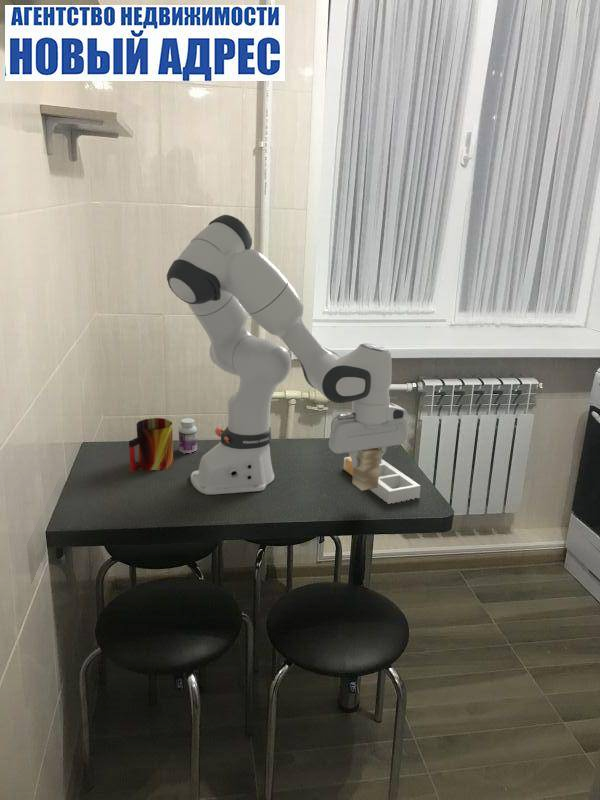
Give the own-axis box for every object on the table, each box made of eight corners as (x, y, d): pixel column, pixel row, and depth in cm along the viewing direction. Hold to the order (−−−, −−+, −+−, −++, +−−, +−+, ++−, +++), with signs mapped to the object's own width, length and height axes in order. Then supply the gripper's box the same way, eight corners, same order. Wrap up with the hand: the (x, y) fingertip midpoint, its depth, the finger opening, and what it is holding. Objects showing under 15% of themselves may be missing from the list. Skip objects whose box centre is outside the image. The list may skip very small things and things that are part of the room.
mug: (129, 476, 172) (127, 434, 169) (143, 456, 185) (141, 417, 182) (165, 477, 172) (164, 435, 169) (176, 457, 185) (175, 418, 182)
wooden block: (361, 490, 156) (364, 452, 153) (352, 483, 160) (354, 445, 157) (377, 487, 158) (380, 450, 155) (368, 480, 162) (370, 443, 159)
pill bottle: (177, 448, 192) (176, 418, 189) (194, 446, 194) (193, 416, 191) (181, 455, 187) (181, 424, 184) (199, 452, 189) (199, 422, 186)
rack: (387, 504, 161) (388, 490, 160) (342, 469, 182) (343, 456, 180) (419, 498, 165) (420, 484, 164) (372, 464, 186) (373, 452, 185)
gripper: (338, 420, 146) (335, 475, 150) (412, 410, 155) (407, 463, 159) (325, 411, 151) (322, 465, 156) (398, 403, 160) (393, 454, 164)
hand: (366, 464), depth 157 cm, fingers closed on wooden block, 5 cm apart
